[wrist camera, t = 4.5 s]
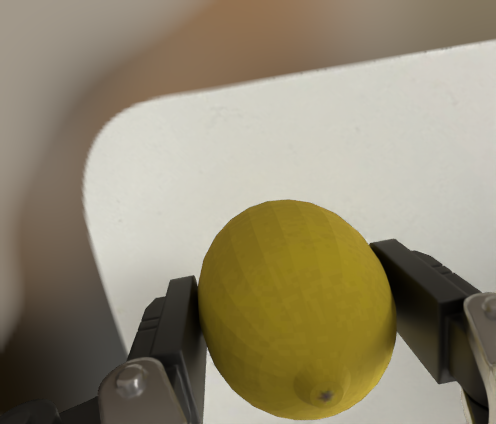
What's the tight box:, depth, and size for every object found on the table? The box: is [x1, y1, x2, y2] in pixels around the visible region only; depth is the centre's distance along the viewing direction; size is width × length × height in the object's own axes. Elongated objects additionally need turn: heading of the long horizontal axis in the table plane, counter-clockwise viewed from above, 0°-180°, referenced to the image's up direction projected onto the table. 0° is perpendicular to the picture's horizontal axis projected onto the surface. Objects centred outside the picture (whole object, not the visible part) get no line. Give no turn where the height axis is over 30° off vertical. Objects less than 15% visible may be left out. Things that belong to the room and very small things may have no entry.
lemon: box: [198, 200, 397, 420], centre depth 11 cm, size 6×6×8 cm
